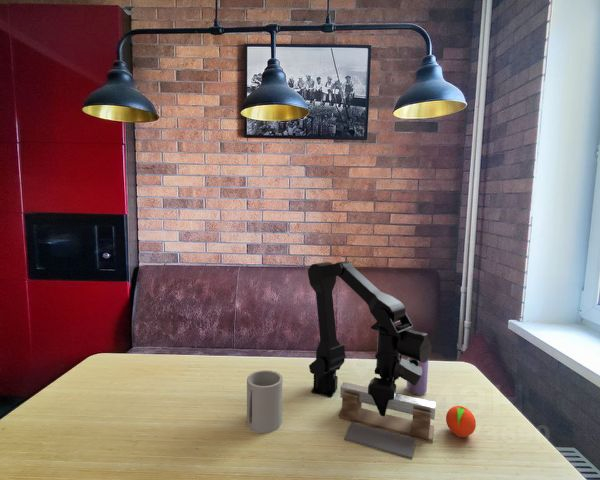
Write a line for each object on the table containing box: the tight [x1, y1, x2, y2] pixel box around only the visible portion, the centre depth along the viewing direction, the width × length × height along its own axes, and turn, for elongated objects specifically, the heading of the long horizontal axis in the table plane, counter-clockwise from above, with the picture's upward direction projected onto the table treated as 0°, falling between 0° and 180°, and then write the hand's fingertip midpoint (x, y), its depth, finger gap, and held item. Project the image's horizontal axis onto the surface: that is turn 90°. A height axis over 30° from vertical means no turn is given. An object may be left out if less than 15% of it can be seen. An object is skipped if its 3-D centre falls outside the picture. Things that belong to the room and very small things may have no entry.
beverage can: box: [406, 357, 429, 396], centre depth 110 cm, size 6×6×15 cm
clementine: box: [445, 405, 477, 438], centre depth 90 cm, size 8×7×7 cm
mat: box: [343, 421, 416, 460], centre depth 87 cm, size 16×7×1 cm, turn 67°
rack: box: [337, 392, 435, 444], centre depth 94 cm, size 24×6×7 cm, turn 67°
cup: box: [246, 369, 284, 434], centre depth 93 cm, size 9×9×12 cm
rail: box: [339, 381, 437, 421], centre depth 94 cm, size 24×3×3 cm, turn 67°
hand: (385, 406), depth 94 cm, fingers open, 9 cm apart
